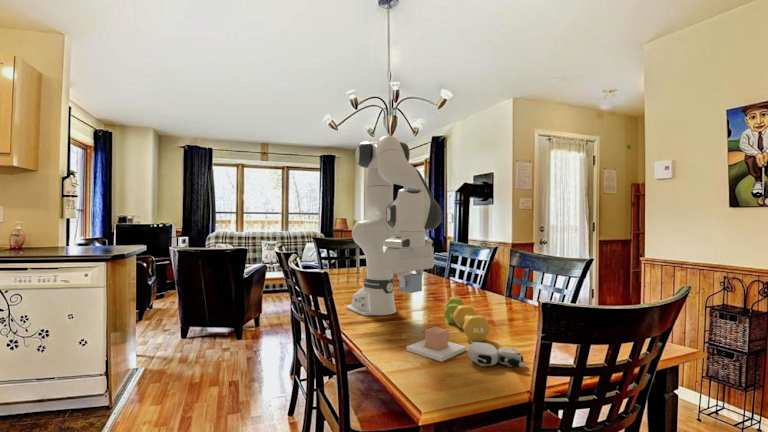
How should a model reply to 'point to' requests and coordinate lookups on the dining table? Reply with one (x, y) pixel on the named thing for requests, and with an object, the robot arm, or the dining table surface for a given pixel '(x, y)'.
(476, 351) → the robot toy
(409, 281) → the brick blue
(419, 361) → the dining table surface
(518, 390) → the dining table surface
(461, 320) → the dumbbell
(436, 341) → the brick terracotta
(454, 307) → the dumbbell
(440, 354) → the plate
